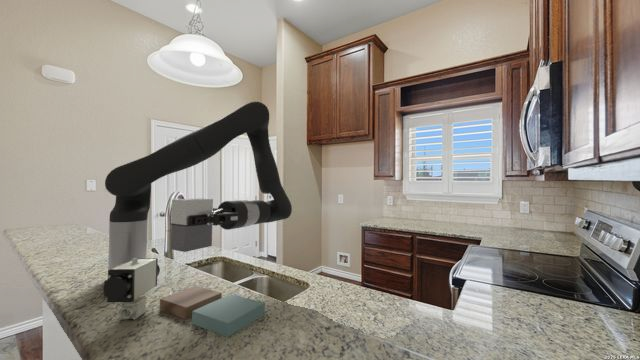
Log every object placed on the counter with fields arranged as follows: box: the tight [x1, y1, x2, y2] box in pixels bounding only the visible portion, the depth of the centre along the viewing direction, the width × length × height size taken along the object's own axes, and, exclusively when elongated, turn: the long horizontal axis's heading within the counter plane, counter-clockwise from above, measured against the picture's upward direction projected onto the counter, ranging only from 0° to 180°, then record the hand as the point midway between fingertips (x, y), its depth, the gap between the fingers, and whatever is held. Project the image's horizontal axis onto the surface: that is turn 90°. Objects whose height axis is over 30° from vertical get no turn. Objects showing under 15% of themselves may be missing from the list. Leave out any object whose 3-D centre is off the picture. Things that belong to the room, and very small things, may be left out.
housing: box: [170, 198, 214, 253], centre depth 62 cm, size 5×7×11 cm
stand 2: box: [191, 293, 266, 338], centre depth 56 cm, size 10×10×2 cm
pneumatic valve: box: [102, 257, 161, 321], centre depth 57 cm, size 6×12×12 cm, turn 3°
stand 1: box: [159, 285, 222, 321], centre depth 61 cm, size 9×9×2 cm
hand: (182, 220), depth 60 cm, fingers closed on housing, 5 cm apart
